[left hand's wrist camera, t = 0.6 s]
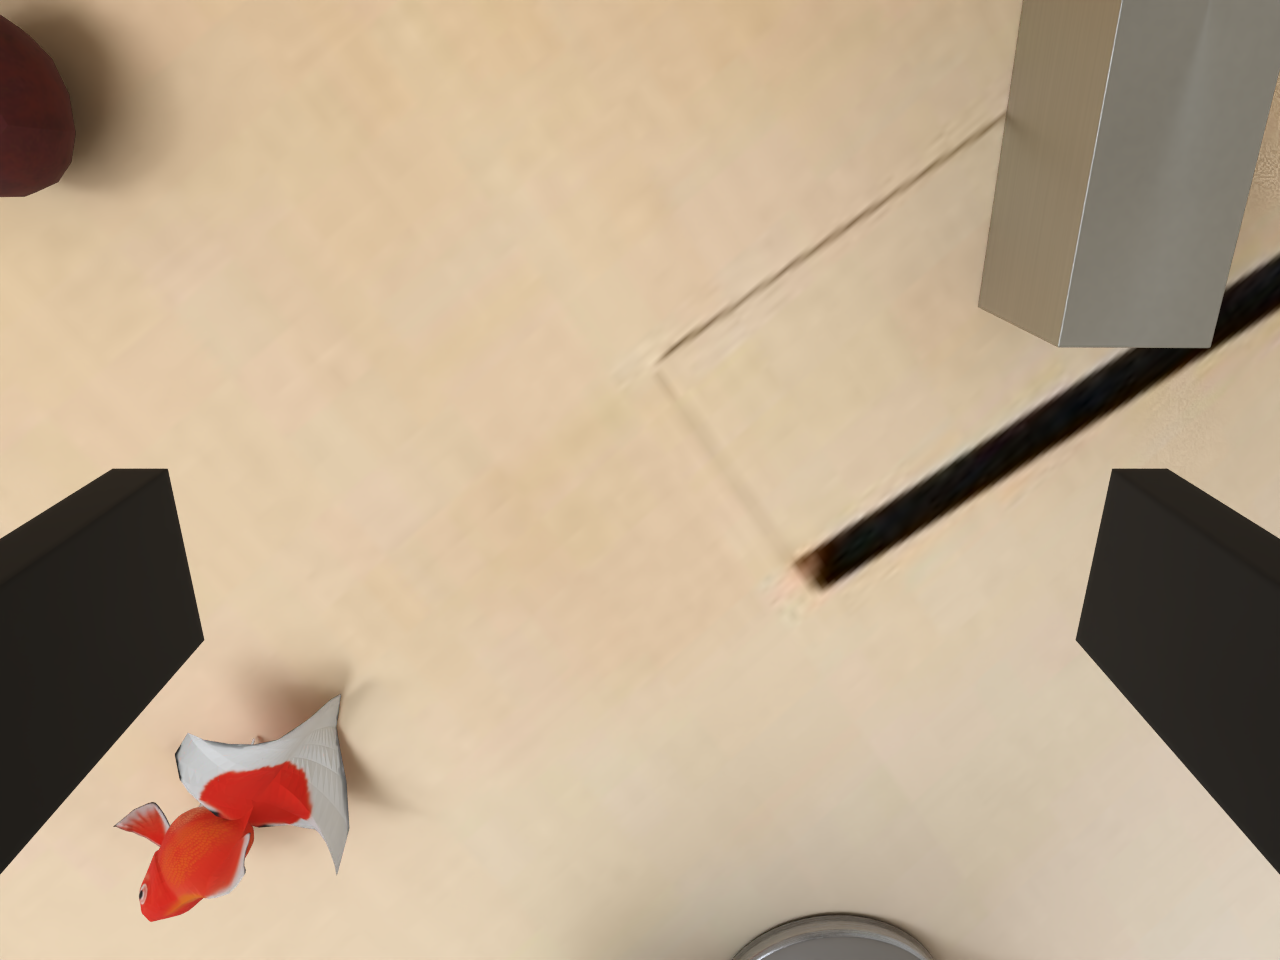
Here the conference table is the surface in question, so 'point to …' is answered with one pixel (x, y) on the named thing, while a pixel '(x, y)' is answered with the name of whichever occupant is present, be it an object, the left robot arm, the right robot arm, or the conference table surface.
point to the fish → (241, 810)
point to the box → (1127, 167)
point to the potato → (31, 116)
